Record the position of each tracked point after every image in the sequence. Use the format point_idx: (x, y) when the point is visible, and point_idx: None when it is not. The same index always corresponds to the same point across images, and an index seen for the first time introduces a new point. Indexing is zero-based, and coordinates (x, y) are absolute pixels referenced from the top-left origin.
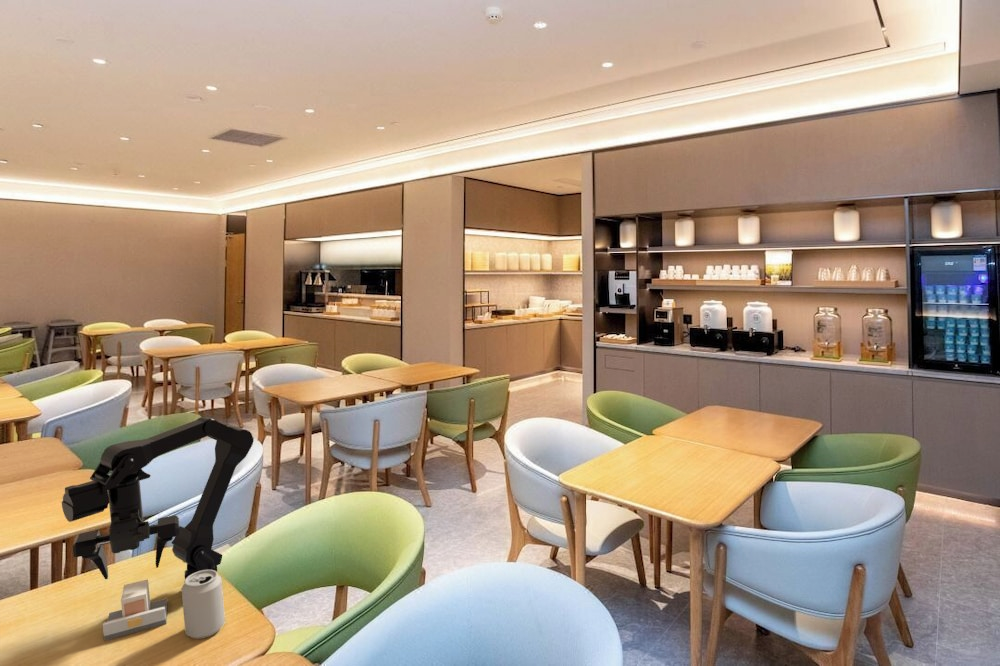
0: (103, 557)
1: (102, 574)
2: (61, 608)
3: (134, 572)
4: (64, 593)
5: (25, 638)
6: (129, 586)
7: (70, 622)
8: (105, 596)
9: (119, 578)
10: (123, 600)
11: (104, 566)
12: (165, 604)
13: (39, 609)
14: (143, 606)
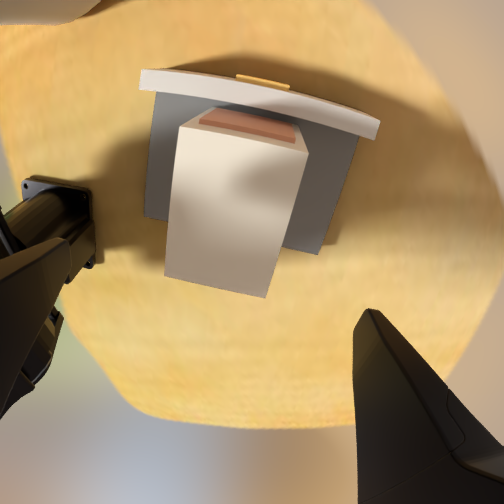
0: (396, 468)
1: (405, 339)
2: None
3: (222, 394)
4: None
5: (475, 289)
6: (245, 268)
7: (397, 292)
8: (297, 351)
9: (254, 393)
10: (296, 148)
11: (411, 387)
12: (150, 178)
13: None
14: (213, 114)
